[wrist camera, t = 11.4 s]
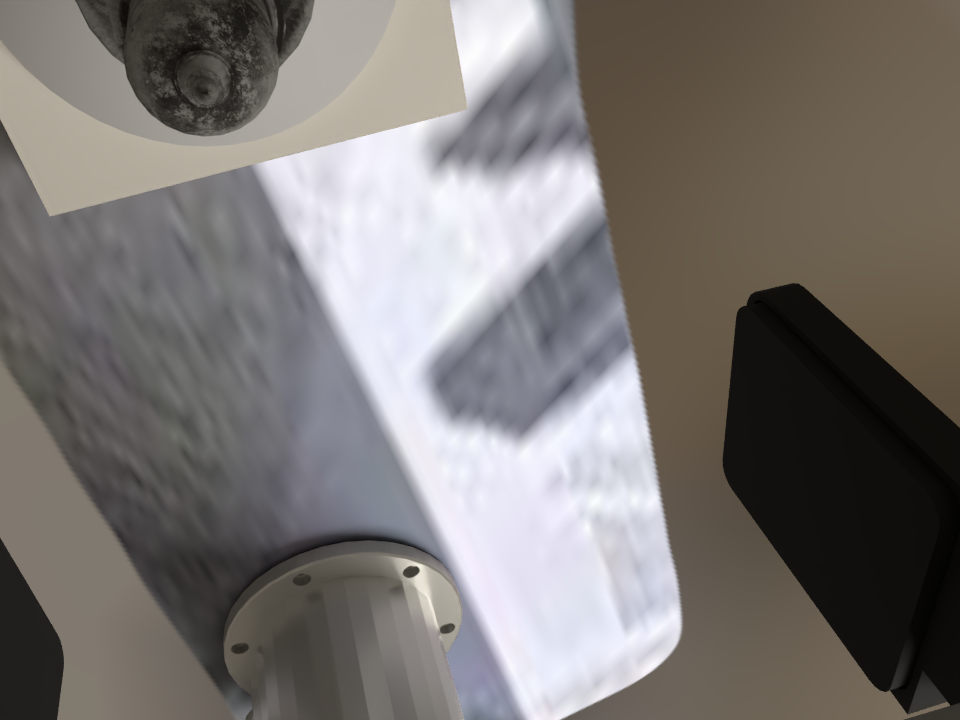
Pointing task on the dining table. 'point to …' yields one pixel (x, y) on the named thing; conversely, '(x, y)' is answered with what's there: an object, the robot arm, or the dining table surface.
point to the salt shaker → (200, 55)
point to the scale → (183, 157)
